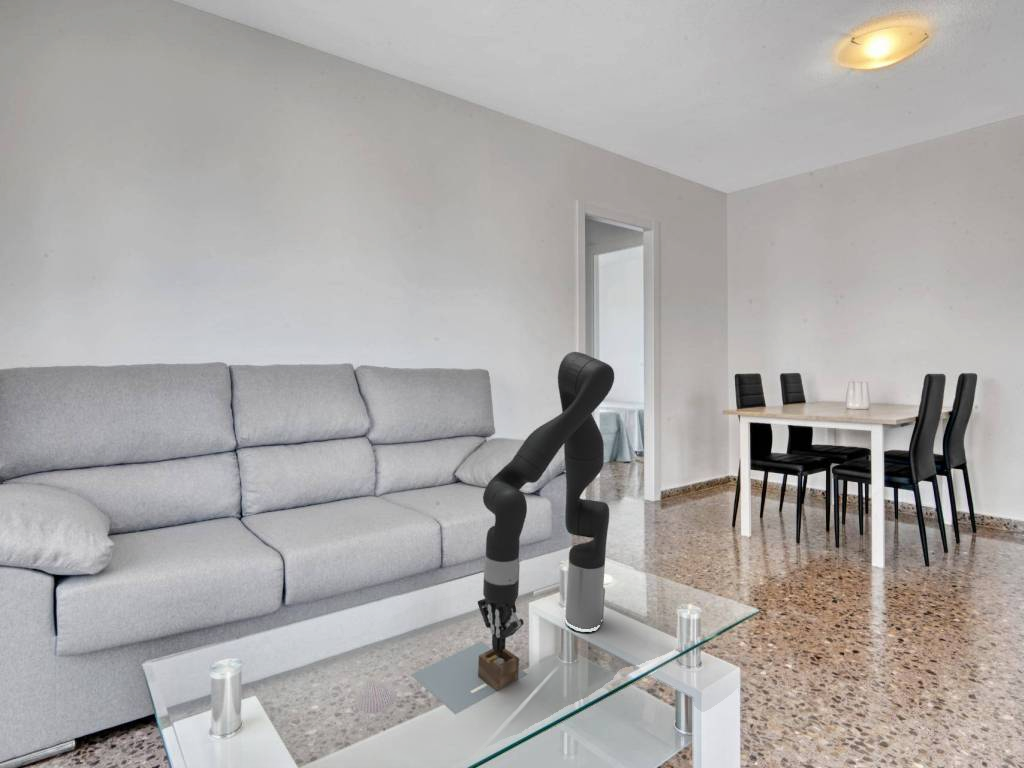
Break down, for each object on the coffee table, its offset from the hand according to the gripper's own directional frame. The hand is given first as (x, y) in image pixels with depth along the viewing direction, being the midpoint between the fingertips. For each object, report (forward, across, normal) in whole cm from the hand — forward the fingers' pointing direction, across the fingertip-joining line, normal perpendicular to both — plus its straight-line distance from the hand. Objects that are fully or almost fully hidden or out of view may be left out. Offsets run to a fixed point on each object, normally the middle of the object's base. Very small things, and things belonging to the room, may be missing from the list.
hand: (498, 650), depth 128 cm
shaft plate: (+8, -5, -4) cm, 10 cm away
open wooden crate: (+6, 0, 0) cm, 7 cm away
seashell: (+8, -10, -24) cm, 27 cm away
